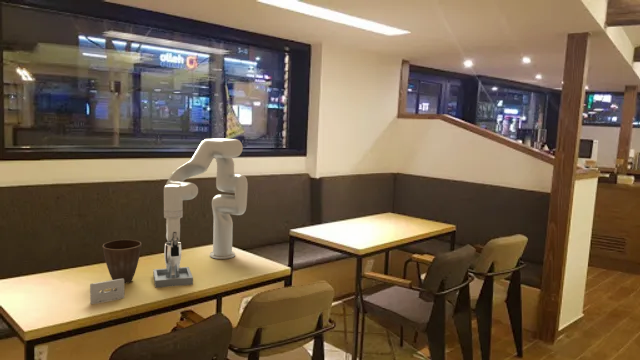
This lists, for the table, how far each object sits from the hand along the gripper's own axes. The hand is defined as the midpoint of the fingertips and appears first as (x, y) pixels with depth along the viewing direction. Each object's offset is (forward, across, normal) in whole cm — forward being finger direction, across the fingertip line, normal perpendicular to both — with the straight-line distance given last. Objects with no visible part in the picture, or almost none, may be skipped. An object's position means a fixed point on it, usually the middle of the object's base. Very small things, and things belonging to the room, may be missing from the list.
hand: (173, 252), depth 204 cm
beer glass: (+11, 0, -1) cm, 11 cm away
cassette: (+12, +18, -26) cm, 33 cm away
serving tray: (+12, +1, -1) cm, 12 cm away
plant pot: (+12, -3, -21) cm, 24 cm away
